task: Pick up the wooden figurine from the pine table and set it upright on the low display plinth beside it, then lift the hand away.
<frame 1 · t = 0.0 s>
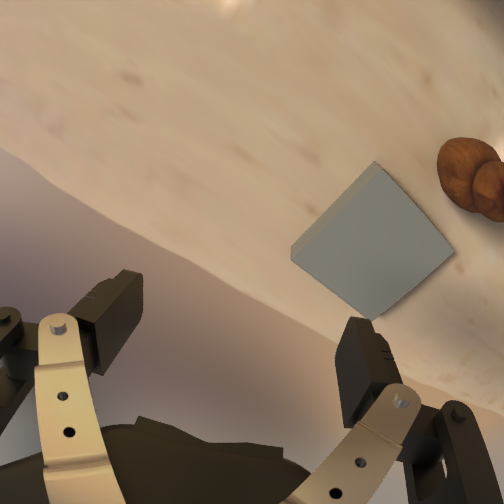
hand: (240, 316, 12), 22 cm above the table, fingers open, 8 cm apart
display plinth: (372, 241, 34), on the table
wooden figurine: (451, 161, 28), on the table
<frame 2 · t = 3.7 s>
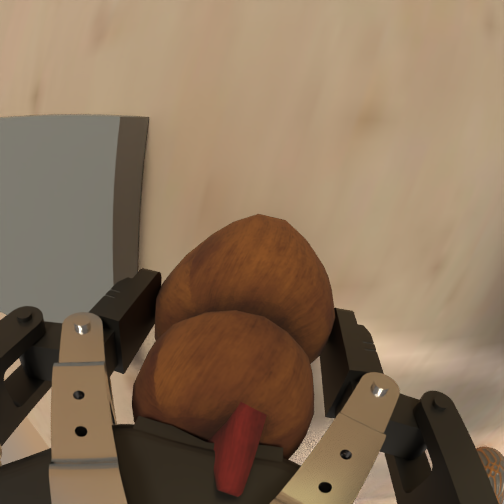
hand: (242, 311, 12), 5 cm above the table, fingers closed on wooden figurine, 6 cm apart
vase: (471, 455, 23), on the table
display plinth: (50, 219, 17), on the table
wooden figurine: (255, 259, 17), on the table, touching gripper
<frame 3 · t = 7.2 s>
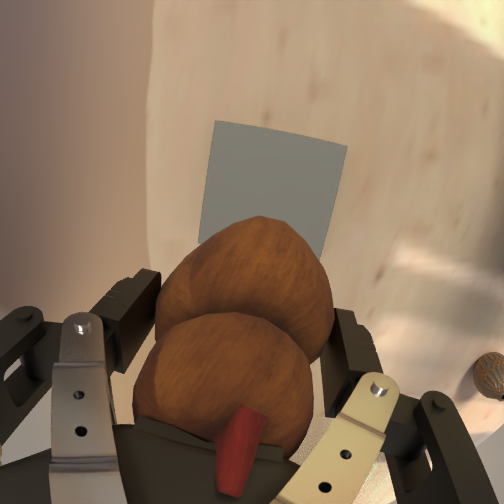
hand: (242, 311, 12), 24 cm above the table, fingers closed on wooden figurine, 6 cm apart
vase: (484, 361, 40), on the table
display plinth: (270, 190, 34), on the table
wooden figurine: (255, 260, 17), point 19 cm above the table, touching gripper
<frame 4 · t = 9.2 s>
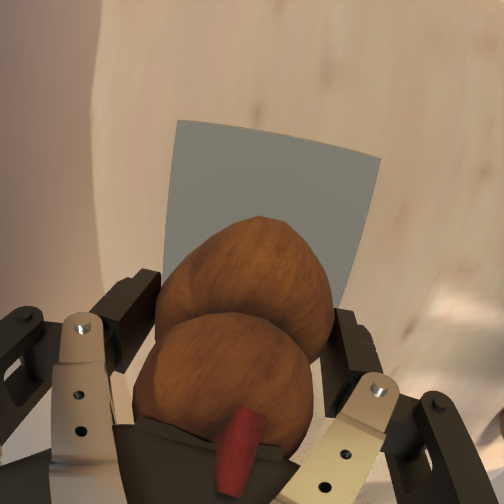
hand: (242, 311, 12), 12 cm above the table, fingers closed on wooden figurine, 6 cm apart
display plinth: (264, 221, 24), on the table
wooden figurine: (255, 260, 17), point 7 cm above the table, touching gripper
when the fingers open (9 cm above the table, at t = 11.0 s): wooden figurine drops 1 cm, resting on display plinth.
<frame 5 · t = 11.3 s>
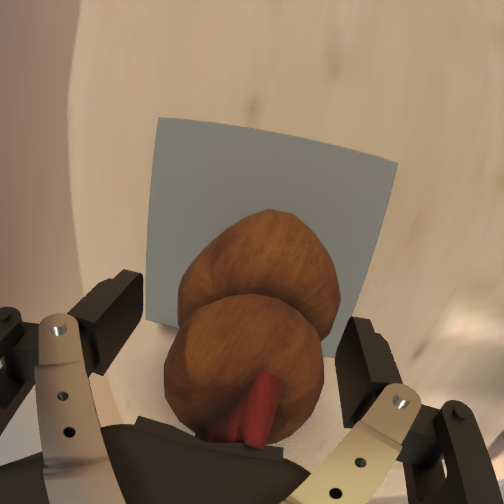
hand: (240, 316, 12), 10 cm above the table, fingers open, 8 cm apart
display plinth: (260, 233, 21), on the table
wooden figurine: (266, 251, 18), point 3 cm above the table, touching display plinth
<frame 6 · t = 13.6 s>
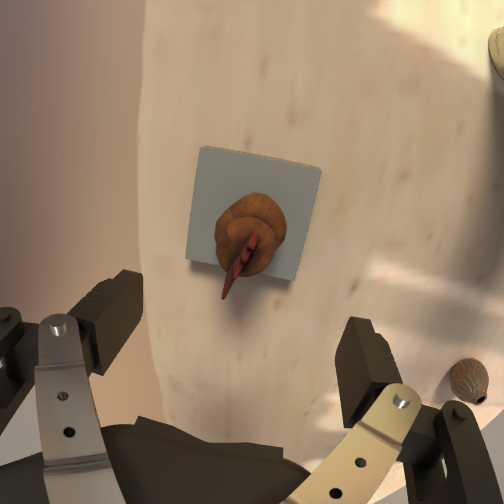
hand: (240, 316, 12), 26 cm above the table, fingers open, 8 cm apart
vase: (461, 366, 44), on the table
display plinth: (251, 209, 37), on the table
wooden figurine: (254, 216, 35), point 3 cm above the table, touching display plinth
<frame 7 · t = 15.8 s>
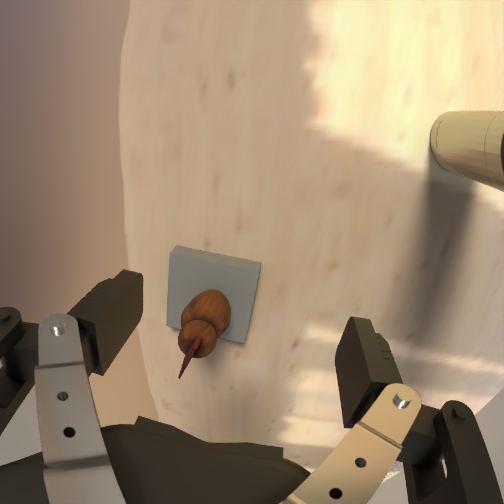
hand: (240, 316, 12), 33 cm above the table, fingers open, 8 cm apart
display plinth: (213, 291, 50), on the table
wooden figurine: (212, 301, 47), point 3 cm above the table, touching display plinth
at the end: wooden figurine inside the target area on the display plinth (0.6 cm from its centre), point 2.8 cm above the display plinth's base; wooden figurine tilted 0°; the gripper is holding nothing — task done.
